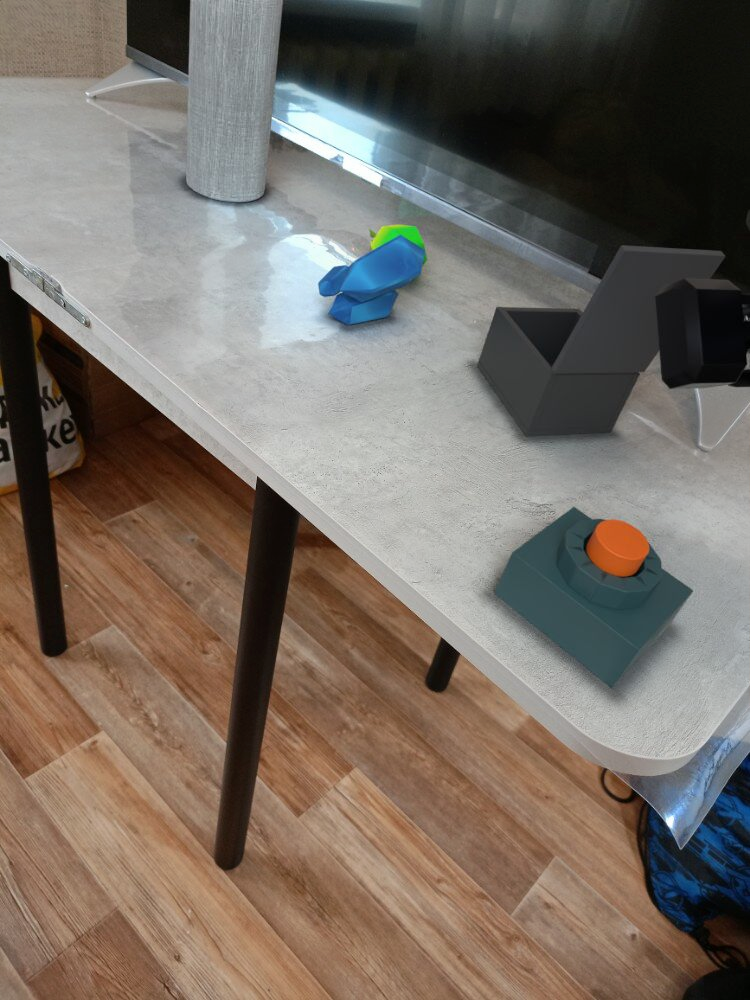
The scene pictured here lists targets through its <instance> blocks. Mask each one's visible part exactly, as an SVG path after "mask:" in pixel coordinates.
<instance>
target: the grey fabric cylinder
mask: <svg viewBox="0 0 750 1000" xmlns="http://www.w3.org/2000/svg"><path fill="white" fill-rule="evenodd" d="M189 1H190V2H189V35H188V36H189V40H188V41H189V42H188V43H189V44H188V47H189V48H188V78H187V79H188V80H187V81H188V82H187V115H186V116H187V119H186V122H187V123H186V125H187V126H186V163H185V173H186V174H185V177H186V178H185V179H186V180H185V181H186V184H187V186H188V187H189V188H191V190H192V191H194V192H195V193H197V194H198V195H200V196H203V197H205V198H209V199H211V200H215V201H220V202H225V203H248V202H254V201H256V200H258V199H260V198H261V197H263V196H264V194H265V190H266V184H267V174H268V162H269V152H270V143H271V142H270V141H271V133H272V131H271V130H272V121H273V110H274V109H273V108H274V100H275V99H274V98H275V89H276V87H275V86H276V80H277V79H276V78H277V69H278V68H277V67H278V57H279V56H278V55H279V47H280V45H279V44H280V35H281V25H282V24H281V23H282V15H283V4H284V0H189Z"/></svg>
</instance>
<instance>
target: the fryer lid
mask: <svg viewBox="0 0 750 1000" xmlns="http://www.w3.org/2000/svg"><path fill="white" fill-rule="evenodd" d="M725 258H726V255H725V254H724V253H723V251H722V250H711V249H690V248H674V247H673V248H672V247H671V248H670V247H657V246H640V245H623V244H622V245H620V246H619V249H618V250H617V252H616V253H615V255H614V257H613V259H612V261H611V263H610V264H609V266H608V267H607V269H606V272H605V273H604V275H603V276H602V278H601V280H600V281H599V283H598V285H597V287H596V288H595V291H594V292H593V294H592V296H591V297H590V300H589V301H588V302H587V305H586V306H585V308H584V310H583V311H582V312H583V313H582V315H581V317H580V319H579V320H578V322H577V324H576V326H575V327H574V329H573V331H572V333H571V334H570V336H569V338H568V340H567V342H566V343H565V345H564V347H563V349H562V350H561V352H560V354H559V356H558V357H557V359H556V361H555V363H554V364H553V366H552V370H553V372H554V373H621V372H639V373H645V372H646V371H647V369H648V367H649V366H650V365H651V363H652V362H653V360H654V359H655V357H656V356H657V355H658V353H660V352H659V340H658V328H657V315H656V303H655V296H656V294H657V293H658V292H659V290H660V289H661V288H662V287H664V286H666V285H669V284H671V283H673V282H676V281H678V280H680V279H683V278H693V279H712V277H713V275H714V274H715V272H716V270H718V268H719V266H720V265H721V263H722V262H723V261H724V259H725Z"/></svg>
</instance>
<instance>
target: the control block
mask: <svg viewBox="0 0 750 1000" xmlns="http://www.w3.org/2000/svg"><path fill="white" fill-rule="evenodd" d="M605 520H606V519H604V518H594V519H593V518H591V517H589V515H586V514H585V513H584V512H583V511H581V510H580V509H578V508H577V507H575V506H572V507H571V508H570V509H568V510H567V511H566V512H565V513H563V514H562V515H561V516H559V517H558V518H557V519H555V520H554V521H553V522H551V523H550V524H548V525H547V526H546V527H544V528H543V529H542V530H540V531H539V532H538V533H536V534H535V535H534V536H532V537H531V538H530V539H528V540H527V541H526V542H524V543H523V544H522V545H520V546H519V547H517V549H515V550H514V551H512V552H511V554H510V557H509V559H508V560H507V562H506V565H505V567H504V569H503V572H502V574H501V576H500V579H499V580H498V582H497V585H496V587H495V590H494V591H493V593H494V595H496V596H497V597H499V599H501V600H502V601H503V602H504V603H506V604H507V605H508V606H509V607H510V608H512V609H513V610H515V611H516V612H517V613H518V614H519V615H521V616H522V617H523V618H524V619H525V620H527V621H528V622H529V623H531V624H532V625H533V626H534V627H535V628H536V629H538V630H539V631H541V632H542V633H543V634H544V635H545V636H547V637H548V638H549V639H550V640H551V641H553V642H554V643H555V644H557V645H558V646H559V647H561V648H562V649H563V650H564V651H565V652H566V653H567V654H569V655H570V656H571V657H573V658H574V659H575V660H576V661H578V663H580V664H582V665H583V666H584V667H585V668H586V669H587V670H589V671H590V672H591V673H592V674H594V675H595V676H596V677H597V678H599V679H600V680H601V681H603V682H604V683H605V684H606V685H607V686H609V687H610V688H611V689H612V688H614V687H615V686H616V685H617V683H618V682H619V681H620V680H621V679H622V678H623V677H624V676H625V675H626V673H627V672H628V671H630V669H631V668H632V667H633V666H634V665H635V664H636V663H637V662H638V661H639V659H640V658H642V656H644V654H645V653H646V652H647V651H648V650H649V649H650V647H652V645H654V643H655V642H656V641H657V640H658V638H659V637H660V636H661V635H662V634H663V633H664V632H665V631H666V630H667V629H668V627H669V626H670V624H671V623H672V622H673V620H674V619H675V617H676V616H677V615H678V614H679V612H680V611H681V609H682V608H683V607H684V605H685V604H686V602H687V601H688V599H690V596H691V595H692V594H693V592H694V590H693V588H691V587H689V586H688V585H686V584H685V583H684V582H683V581H681V580H680V579H678V578H677V577H675V576H674V575H672V574H671V573H670V572H668V571H667V570H665V569H664V568H663V567H662V559H661V558H660V555H658V553H657V552H656V550H654V548H653V547H652V545H651V543H650V542H649V541H648V543H649V553H648V555H647V556H646V558H645V559H644V561H643V563H642V564H641V566H640V567H639V569H638V571H637V572H636V573H635V574H633V575H631V576H627V577H618V576H615V575H611V574H608V573H606V572H604V571H603V570H601V569H600V568H598V567H597V566H596V565H594V564H593V562H592V561H591V560H590V559H589V557H588V555H587V551H586V547H587V543H588V541H589V540H590V538H591V536H592V534H593V532H594V530H595V528H596V527H597V525H598V524H599V523H601V522H602V521H605Z"/></svg>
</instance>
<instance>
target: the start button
mask: <svg viewBox="0 0 750 1000" xmlns="http://www.w3.org/2000/svg"><path fill="white" fill-rule="evenodd" d="M604 520H605V521H602V522H601V523H599V524H598V525H597V527H596V528H595V530H594V532H593V534H592V536H591V538H590V540H589V541H588V543H587V547H586V551H587V555H588V557H589V559H590V560H591V561H592V562H593V564H594V565H596V566H597V567H598V568H600V569H601V570H603V571H604V572H606V573H608V574H611V575H615V576H618V577H627V576H631V575H633V574H635V573H636V572H637V571H638V569H639V567H640V566H641V564H642V563H643V561H644V559H645V558H646V556H647V555H648V553H649V544H650V542H649V541H648V539H647V538H646V536H645V534H643V533H642V531H641V530H639V529H638V528H637V527H635V526H634V525H632V524H630V523H628V522H626V521H622V520H619V519H604ZM648 542H649V543H648Z"/></svg>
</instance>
